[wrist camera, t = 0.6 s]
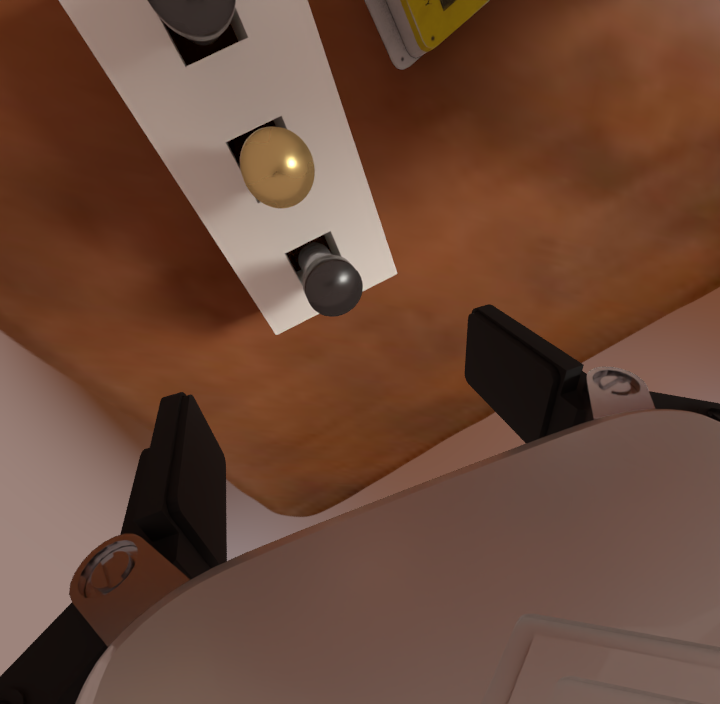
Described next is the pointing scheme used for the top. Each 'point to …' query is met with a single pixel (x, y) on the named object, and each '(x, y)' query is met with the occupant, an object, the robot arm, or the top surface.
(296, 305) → the block
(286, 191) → the brass plunger
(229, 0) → the near plunger
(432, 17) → the emergency button
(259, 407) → the top surface
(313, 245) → the far plunger
